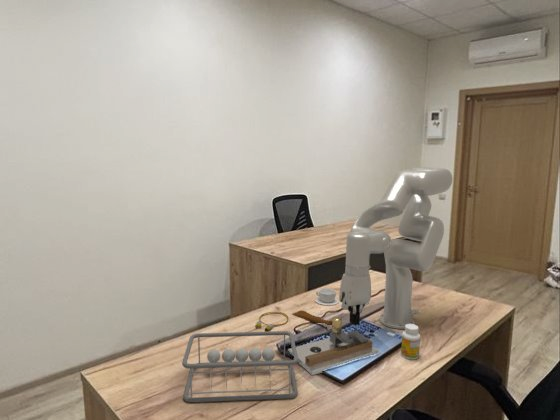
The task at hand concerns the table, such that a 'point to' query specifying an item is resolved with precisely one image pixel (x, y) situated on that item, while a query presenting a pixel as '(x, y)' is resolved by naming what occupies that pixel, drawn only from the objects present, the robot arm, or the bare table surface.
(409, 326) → the supplement bottle
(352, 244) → the robot arm
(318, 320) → the primitive tool
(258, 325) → the extension cord
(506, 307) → the table surface
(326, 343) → the bolt plate
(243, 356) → the newton's cradle
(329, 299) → the teacup
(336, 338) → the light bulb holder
